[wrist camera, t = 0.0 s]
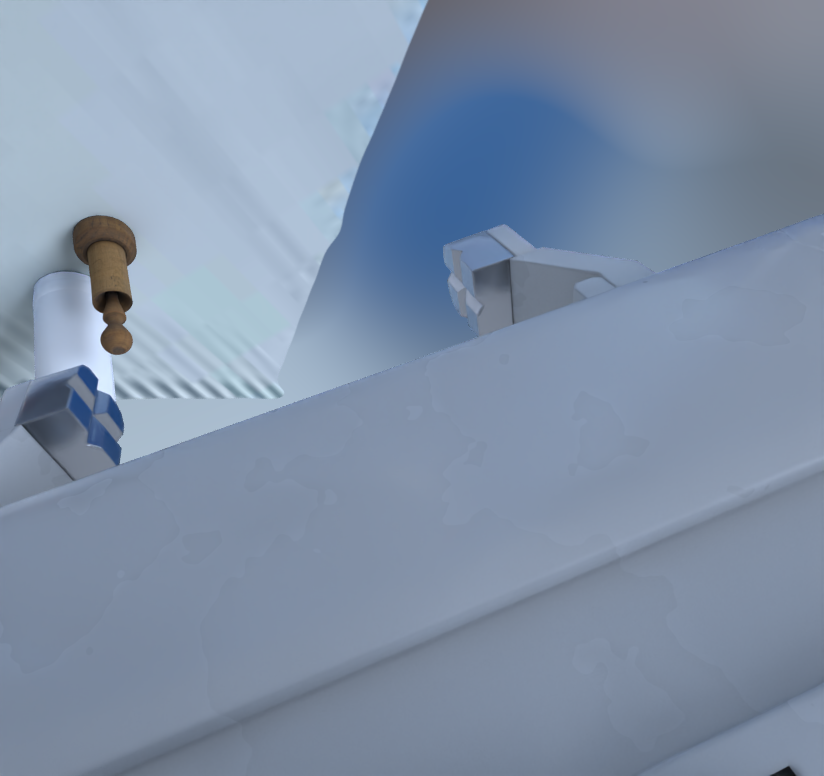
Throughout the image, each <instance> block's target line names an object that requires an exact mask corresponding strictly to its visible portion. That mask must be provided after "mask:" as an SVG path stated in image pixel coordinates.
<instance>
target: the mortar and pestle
mask: <svg viewBox="0 0 824 776" xmlns="http://www.w3.org/2000/svg"><path fill="white" fill-rule="evenodd" d="M73 244H74V250H75V253H76V255H77V256H78V258H79V259H80V260H81V261H82V262H83V263H85V264H86V265H88V266H89V271H90V282H91V294H92V304H93V307H94V308H95V309H96V310H97V311H98V312H100V313H103V321H104V322H105V323H106V324H108V326H107V327H106V328H105V330H104V331H103V332H102V334H101V337H100V341H101V345H102V347H103V348H104V350H105V351H107V352H108V353H110V354H114V355H120V354H124V353H126V352H127V351H129V349H130V348H131V346H132V343H133V339H132V336H131V334H130V332H129V331H128V330H127V329H126V328H125V327H124V326H123V325H122V324H123V323H125V321H126V315H125V312H126V311H128V310H129V309H130V308H131V306H132V304H133V301H132V296H131V290H130V284H129V277H128V270H127V266H128V265H130V264H131V263H132V262H133V260H134V259H135V257H136V252H137V250H136V242H135V237H134V234H133V232H132V231H131V229H130V228H129V227H128V226H127V225H126V224H125V223H123V222H122V221H120V220H118V219H115V218H112V217H108V216H92V217H88V218H85V219H83V220H81V221H80V222H79V223H78V224H77V225H76V226H75V228H74V231H73Z"/></svg>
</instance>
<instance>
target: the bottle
mask: <svg viewBox="0 0 824 776" xmlns="http://www.w3.org/2000/svg"><path fill="white" fill-rule="evenodd" d="M33 312H34V356H35V379H37V378H40V377H44V376H47V375H50V374H53V373H56V372H60V371H63V370H66V369H69V368H72V367H76V366H79V365H82V364H83V365H85V366H87V367H89V368H90V369H91V371H92V372H93V373H94V374H95V376H96V377H97V378H98V379H99V380H98V387H97V390H99V391H102V392H104V393H107V394H109V395H110V396H111V397H112V398H113V400H114V401H115V402H116V396H115V387H114V377H113V368H112V359H111V354H110V353H108V352H107V351H105V350H104V348H103V347H102V345H101V341H100V337H101V334H102V332H103V331H104V330H105V328H106V327H107V326H108V324H106V323H105V322H104V321H103V313H100V312H98V311H97V310H96V309H95V308H94V307H93V304H92V294H91V282H90V277H89V276H87V275H84V274H80V273H77V272H64V271H60V272H56V273H51V274H48V275H46V276H44V277H42V278H41V279H39V280H38V282H37V283H36V284H35V286H34V293H33Z"/></svg>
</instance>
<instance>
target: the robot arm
mask: <svg viewBox="0 0 824 776" xmlns="http://www.w3.org/2000/svg"><path fill="white" fill-rule="evenodd" d="M443 255H444V261H445V264H446V266H447V267H448V268H449V269H450V270H451V274H450V276H449V278H448V280H447V281H448V287H449V292H450V295H451V298H452V301H453V304H454V306H455V308H456V310H457V311H458V313H459V314H460V315H461V316H462V317H466V318H468V325H469V327H470V328H471V329H472V331H473V332H474V333H475V334H476V335H477V338H474V339H471V340H468V341H465V342H463V343H460V344H457V345H454V346H452V347H449V348H446V349H443V350H440V351H437V352H435V353H432V354H429V355H426V356H423V357H421V358H418V359H415V360H412V361H409V362H407V363H404V364H401V365H398V366H396V367H393V368H390V369H387V370H385V371H382V372H379V373H376V374H373V375H370V376H368V377H365V378H362V379H360V380H357V381H354V382H351V383H348V384H345V385H342V386H339V387H337V388H334V389H332V390H328V391H325V392H323V393H320V394H317V395H314V396H311V397H309V398H306V399H303V400H300V401H297V402H294V403H292V404H289V405H286V406H283V407H280V408H278V409H275V410H272V411H269V412H267V413H264V414H261V415H258V416H255V417H253V418H250V419H247V420H244V421H241V422H238V423H235V424H233V425H230V426H227V427H224V428H221V429H219V430H216V431H213V432H210V433H207V434H205V435H202V436H199V437H196V438H193V439H191V440H188V441H185V442H182V443H180V444H177V445H174V446H171V447H168V448H165V449H162V450H160V451H157V452H154V453H151V454H149V455H146V456H143V457H140V458H137V459H134V460H131V461H129V462H126V463H123V464H120V465H119V463H120V456H121V447H120V446H119V444H118V443H117V441H118V440H119V439H120V438H121V436H122V435H123V431H124V423H123V419H122V414H121V412H120V410H119V408H118V406H117V404H116V402H115V401H114V400H113V398H112V397H111V396H110V395H109V394H107V393H104V392H102V391H99V390H97V387H98V380H99V379H98V378H97V377H96V376H95V374H94V373H93V372H92V371H91V369H90V368H89V367H87V366H85V365H83V364H82V365H79V366H76V367H72V368H69V369H66V370H63V371H60V372H56V373H53V374H50V375H47V376H44V377H40V378H37V379H35V380H29V381H26V382H24V383H21V384H18V385H15V386H13V387H10V388H8V389H5V391H4V394H3V396H2V398H1V401H0V776H824V214H822V215H818V216H815V217H812V218H809V219H806V220H803V221H801V222H798V223H795V224H793V225H790V226H787V227H785V228H782V229H779V230H776V231H774V232H771V233H768V234H765V235H762V236H760V237H757V238H754V239H752V240H749V241H746V242H743V243H740V244H738V245H734V246H732V247H729V248H726V249H724V250H720V251H718V252H715V253H712V254H709V255H706V256H703V257H701V258H698V259H695V260H692V261H690V262H687V263H684V264H681V265H679V266H675V267H673V268H670V269H667V270H664V271H662V272H659V273H655V272H654V271H652V270H651V269H649V268H648V267H646V266H645V265H643V264H641V263H640V262H639V261H637V260H630V259H622V258H616V257H609V256H601V255H594V254H587V253H580V252H573V251H565V250H558V249H551V248H544V247H543V248H540V249H536V248H535V247H533V246H532V245H531V244H530V243H528V242H527V241H526V240H525V239H523V238H522V237H520V235H518V234H517V233H516V232H515V231H513V230H512V229H511V228H510V227H508V226H507V225H499V226H497V227H494V228H492V229H489V230H486V231H482V232H479V233H477V234H474V235H471V236H468V237H466V238H463V239H460V240H457V241H454V242H451V243H449V244H446V245H445V246H444V247H443Z"/></svg>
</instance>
